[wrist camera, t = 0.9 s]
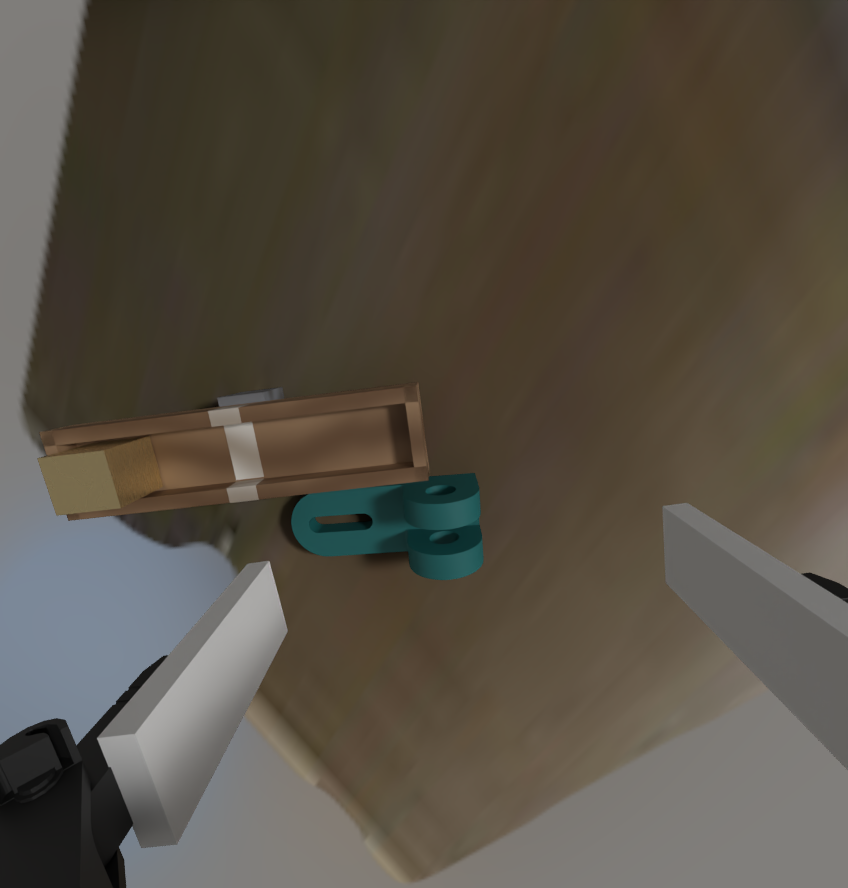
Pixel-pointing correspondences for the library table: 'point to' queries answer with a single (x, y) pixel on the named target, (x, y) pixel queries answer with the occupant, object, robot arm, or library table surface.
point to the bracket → (400, 524)
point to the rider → (101, 475)
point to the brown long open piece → (269, 446)
